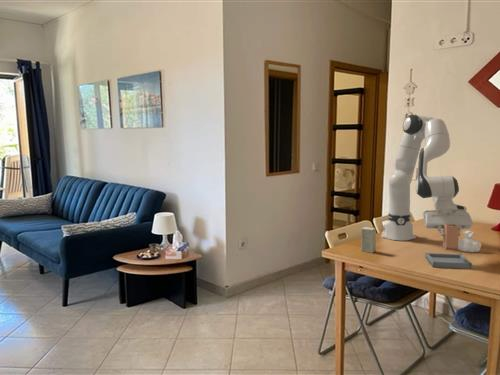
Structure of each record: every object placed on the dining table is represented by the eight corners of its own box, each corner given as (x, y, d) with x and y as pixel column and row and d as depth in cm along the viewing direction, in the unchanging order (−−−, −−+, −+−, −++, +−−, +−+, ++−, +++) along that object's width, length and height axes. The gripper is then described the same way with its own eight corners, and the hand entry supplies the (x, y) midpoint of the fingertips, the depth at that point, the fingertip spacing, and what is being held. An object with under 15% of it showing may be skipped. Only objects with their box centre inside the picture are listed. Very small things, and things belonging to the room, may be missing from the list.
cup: (442, 246, 188) (443, 223, 187) (454, 247, 187) (455, 224, 186) (446, 249, 183) (446, 226, 182) (457, 250, 182) (458, 226, 181)
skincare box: (375, 251, 206) (376, 228, 205) (371, 253, 203) (372, 229, 202) (364, 249, 211) (364, 226, 209) (360, 251, 207) (361, 228, 206)
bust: (480, 256, 203) (481, 236, 208) (481, 250, 197) (482, 229, 202) (454, 253, 209) (455, 233, 214) (453, 247, 203) (455, 227, 208)
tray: (425, 257, 194) (425, 252, 194) (460, 259, 191) (461, 254, 191) (432, 267, 181) (433, 261, 180) (471, 268, 178) (471, 263, 177)
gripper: (423, 206, 191) (428, 231, 183) (469, 206, 188) (476, 232, 179) (421, 214, 196) (425, 238, 188) (466, 214, 193) (472, 239, 184)
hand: (451, 235), depth 184 cm, fingers closed on cup, 5 cm apart
